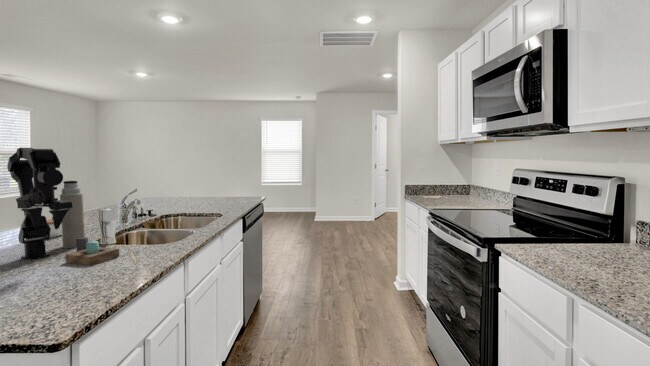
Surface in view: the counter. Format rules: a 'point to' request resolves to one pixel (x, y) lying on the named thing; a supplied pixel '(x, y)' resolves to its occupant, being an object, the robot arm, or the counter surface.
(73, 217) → the thermos bottle
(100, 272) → the counter surface
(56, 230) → the lidded jar
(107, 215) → the beer glass
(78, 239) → the black dowel
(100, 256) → the socket block
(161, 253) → the counter surface
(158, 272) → the counter surface
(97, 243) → the peg
